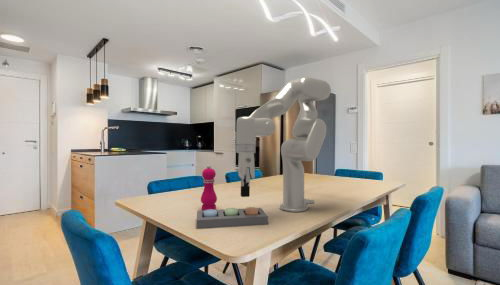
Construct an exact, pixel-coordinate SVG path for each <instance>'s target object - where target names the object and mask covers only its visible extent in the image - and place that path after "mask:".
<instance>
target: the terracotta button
mask: <svg viewBox="0 0 500 285" xmlns="http://www.w3.org/2000/svg"><path fill="white" fill-rule="evenodd" d="M258 208H259V207H253V206H252V207H250V206H249V207H246V209H245V208H244V209H245V215H255V214H258Z"/></svg>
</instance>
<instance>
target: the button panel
mask: <svg viewBox="0 0 500 285" xmlns="http://www.w3.org/2000/svg"><path fill="white" fill-rule="evenodd" d="M246 208H247V207H246ZM246 208H245V207H244V208H237V209H238V215H237V216H225V209H216V210H217V217H204V210H197V211H196V229H197V230H198V229H213V228H214V229H215V228H229V227H231V228H232V227H245V226H262V225H263V226H264V225H269V216H268V214H267V213H266V212H265V211H264V210H263V208H262V207H257V208H258V214H255V215H245V209H246Z"/></svg>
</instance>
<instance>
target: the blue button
mask: <svg viewBox="0 0 500 285" xmlns="http://www.w3.org/2000/svg"><path fill="white" fill-rule="evenodd" d="M217 210H218V209H215V210H214V209H208V210H203V211H204V217H217Z"/></svg>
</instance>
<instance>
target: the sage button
mask: <svg viewBox="0 0 500 285" xmlns="http://www.w3.org/2000/svg"><path fill="white" fill-rule="evenodd" d="M238 209H239V208H236V207H227V208H225V209H224V210H225V216H237V215H238Z"/></svg>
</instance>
